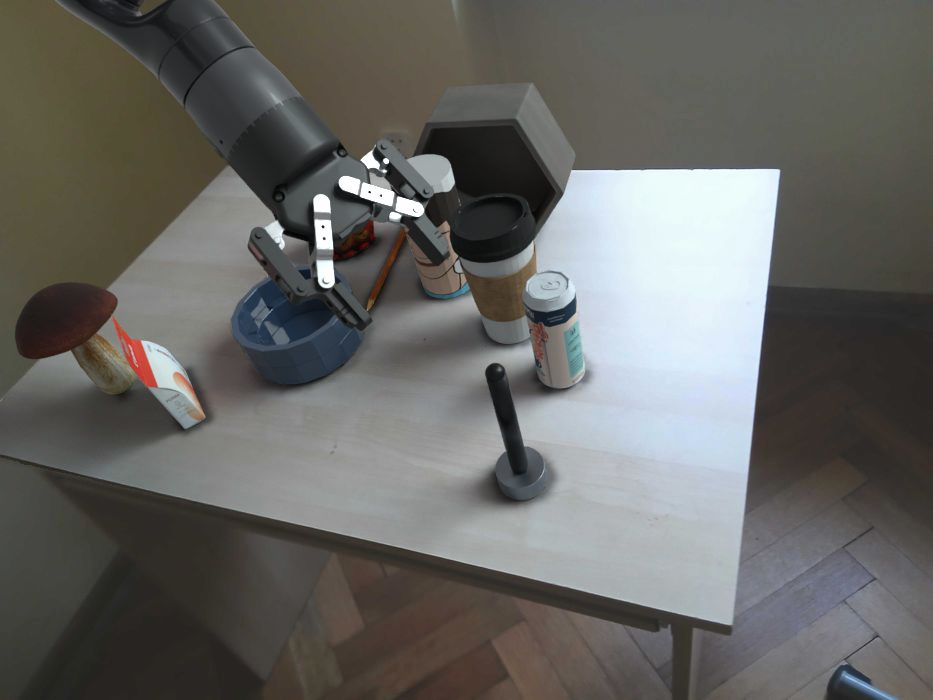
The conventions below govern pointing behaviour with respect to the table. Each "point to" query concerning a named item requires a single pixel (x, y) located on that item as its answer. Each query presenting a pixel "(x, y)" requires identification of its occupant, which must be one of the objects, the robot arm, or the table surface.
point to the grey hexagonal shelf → (500, 144)
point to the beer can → (554, 328)
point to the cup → (439, 211)
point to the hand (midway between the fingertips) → (407, 292)
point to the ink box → (163, 378)
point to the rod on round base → (513, 443)
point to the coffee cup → (497, 260)
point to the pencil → (386, 269)
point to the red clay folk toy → (356, 242)
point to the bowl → (292, 333)
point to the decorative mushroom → (74, 332)
